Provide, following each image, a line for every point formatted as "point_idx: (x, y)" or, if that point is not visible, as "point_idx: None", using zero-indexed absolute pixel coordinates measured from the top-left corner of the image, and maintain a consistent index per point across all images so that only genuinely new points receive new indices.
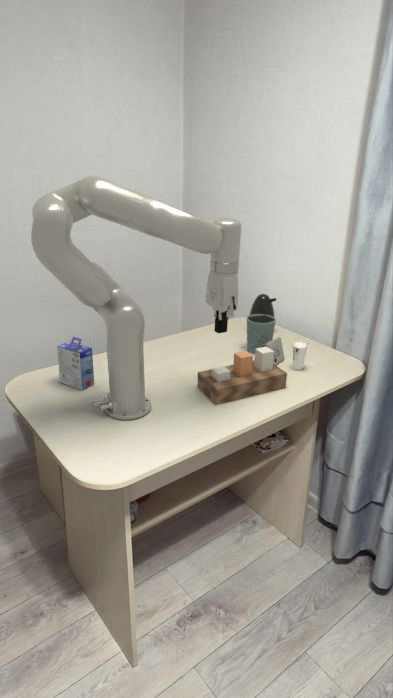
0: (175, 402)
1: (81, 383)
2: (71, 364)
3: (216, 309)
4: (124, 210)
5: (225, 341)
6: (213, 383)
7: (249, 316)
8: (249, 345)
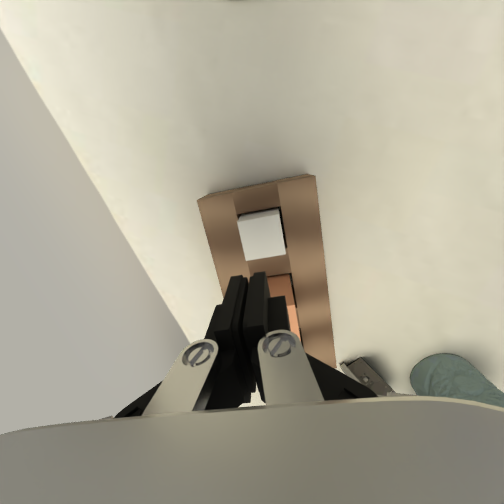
0: (242, 88)
1: None
2: None
3: (87, 425)
4: None
5: None
6: (232, 201)
7: None
8: (451, 366)
